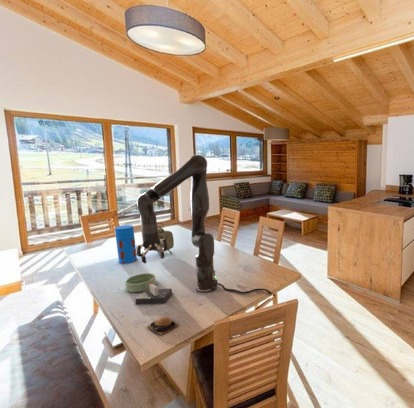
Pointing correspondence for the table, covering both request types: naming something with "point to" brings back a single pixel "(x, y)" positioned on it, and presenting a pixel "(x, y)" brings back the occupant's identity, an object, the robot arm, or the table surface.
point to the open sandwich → (162, 325)
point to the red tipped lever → (153, 289)
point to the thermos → (125, 244)
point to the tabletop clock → (167, 236)
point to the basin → (140, 282)
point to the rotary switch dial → (153, 296)
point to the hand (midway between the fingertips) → (153, 260)
